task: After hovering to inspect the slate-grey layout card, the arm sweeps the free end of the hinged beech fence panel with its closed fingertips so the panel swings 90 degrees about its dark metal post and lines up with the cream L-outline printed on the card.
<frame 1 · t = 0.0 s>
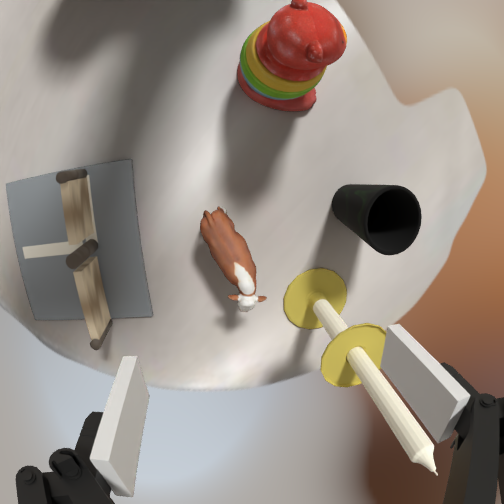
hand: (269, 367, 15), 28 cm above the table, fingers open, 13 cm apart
bull figurine: (230, 247, 42), on the table
cup: (349, 203, 43), on the table
stacking bear: (274, 74, 36), on the table
layout card: (72, 248, 39), on the table
fence fixed: (93, 244, 40), resting on layout card
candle: (315, 299, 46), on the table
fence hinged: (93, 302, 38), point 4 cm above the table, hinge at 0.0°
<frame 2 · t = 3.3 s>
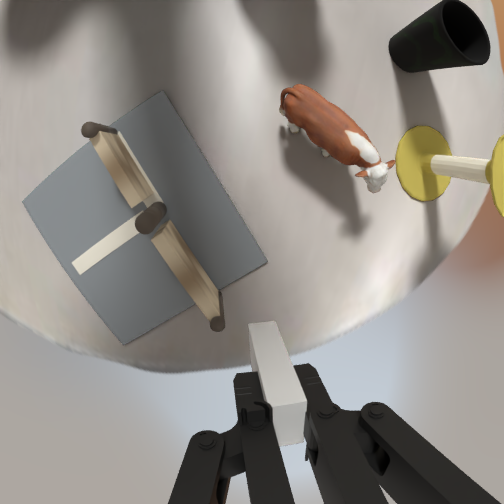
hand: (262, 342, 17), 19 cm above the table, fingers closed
bull figurine: (319, 137, 33), on the table
cup: (405, 53, 30), on the table
layout card: (134, 228, 33), on the table
fence fixed: (159, 209, 33), resting on layout card
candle: (424, 163, 35), on the table
fence hinged: (191, 274, 31), point 4 cm above the table, hinge at 0.0°
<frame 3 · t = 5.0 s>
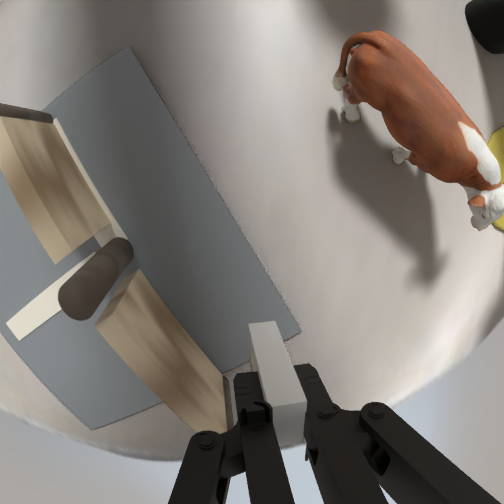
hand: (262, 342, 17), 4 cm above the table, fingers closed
bull figurine: (388, 133, 19), on the table
cup: (483, 27, 17), on the table
layout card: (85, 279, 19), on the table
fence fixed: (121, 249, 19), resting on layout card
fence hinged: (177, 367, 17), point 4 cm above the table, hinge at 0.0°
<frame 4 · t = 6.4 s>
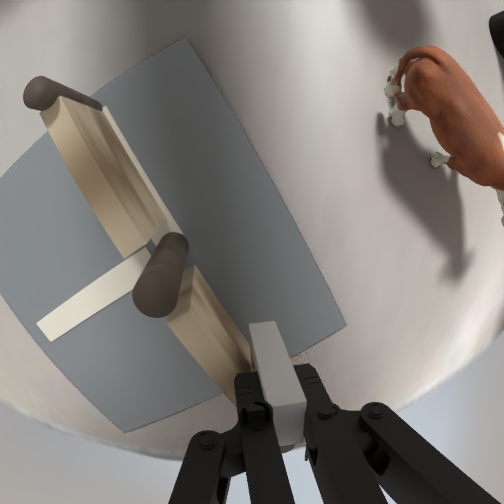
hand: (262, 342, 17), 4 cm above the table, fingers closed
bull figurine: (426, 138, 19), on the table
layout card: (132, 275, 19), on the table
fence fixed: (174, 244, 19), resting on layout card
fence hinged: (236, 364, 17), point 4 cm above the table, hinge at -0.7°, touching gripper
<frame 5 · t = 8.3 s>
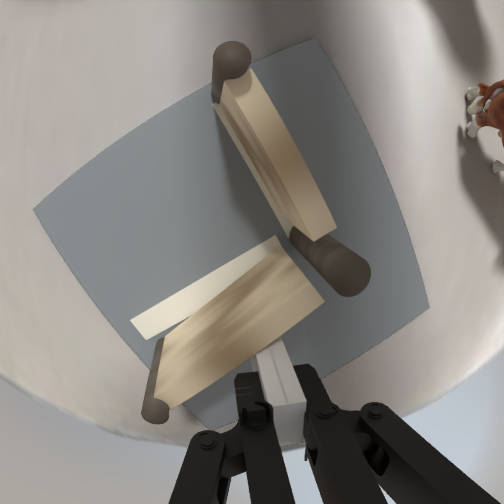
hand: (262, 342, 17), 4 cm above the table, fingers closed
bull figurine: (489, 148, 20), on the table
layout card: (255, 264, 20), on the table
fence fixed: (301, 233, 20), resting on layout card
fence hinged: (220, 333, 16), point 4 cm above the table, hinge at -81.1°, touching gripper
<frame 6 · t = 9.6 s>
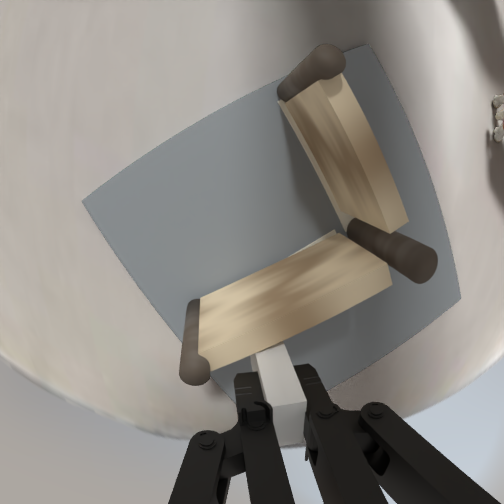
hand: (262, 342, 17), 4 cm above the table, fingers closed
layout card: (313, 258, 20), on the table
fence fixed: (355, 228, 20), resting on layout card
fence hinged: (275, 300, 16), point 4 cm above the table, hinge at -95.7°, touching gripper
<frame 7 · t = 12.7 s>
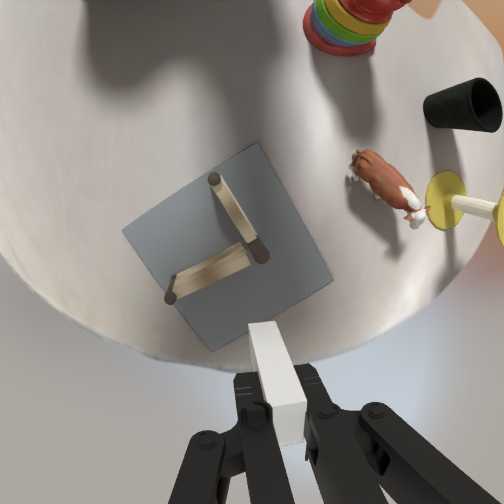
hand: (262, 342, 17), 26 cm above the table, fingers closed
bull figurine: (373, 184, 42), on the table
cup: (435, 111, 40), on the table
stacking bear: (333, 29, 35), on the table
layout card: (231, 255, 42), on the table
fence fixed: (252, 240, 42), resting on layout card
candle: (445, 200, 45), on the table
fence hinged: (206, 272, 38), point 4 cm above the table, hinge at -96.0°
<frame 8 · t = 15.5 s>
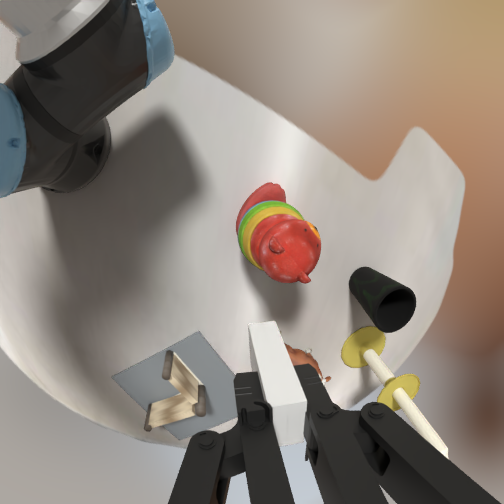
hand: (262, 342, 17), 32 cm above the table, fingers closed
bull figurine: (293, 348, 56), on the table
cup: (362, 280, 54), on the table
stacking bear: (266, 223, 49), on the table
layout card: (187, 393, 56), on the table
fence fixed: (200, 386, 56), resting on layout card
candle: (363, 346, 59), on the table
fence hinged: (169, 411, 52), point 4 cm above the table, hinge at -96.0°
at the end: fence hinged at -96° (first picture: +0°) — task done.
